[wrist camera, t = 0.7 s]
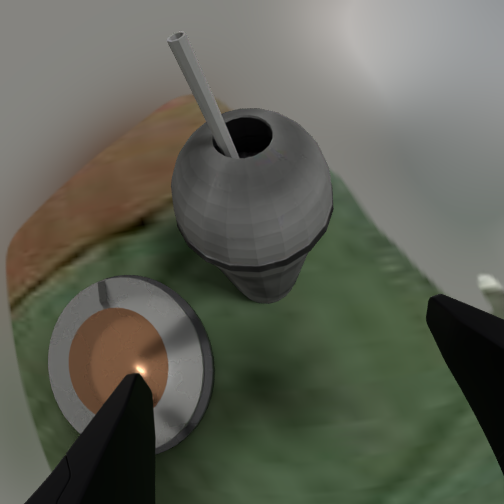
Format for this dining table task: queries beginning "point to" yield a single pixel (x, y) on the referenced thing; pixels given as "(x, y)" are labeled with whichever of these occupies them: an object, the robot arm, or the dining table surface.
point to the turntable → (126, 353)
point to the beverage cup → (248, 190)
